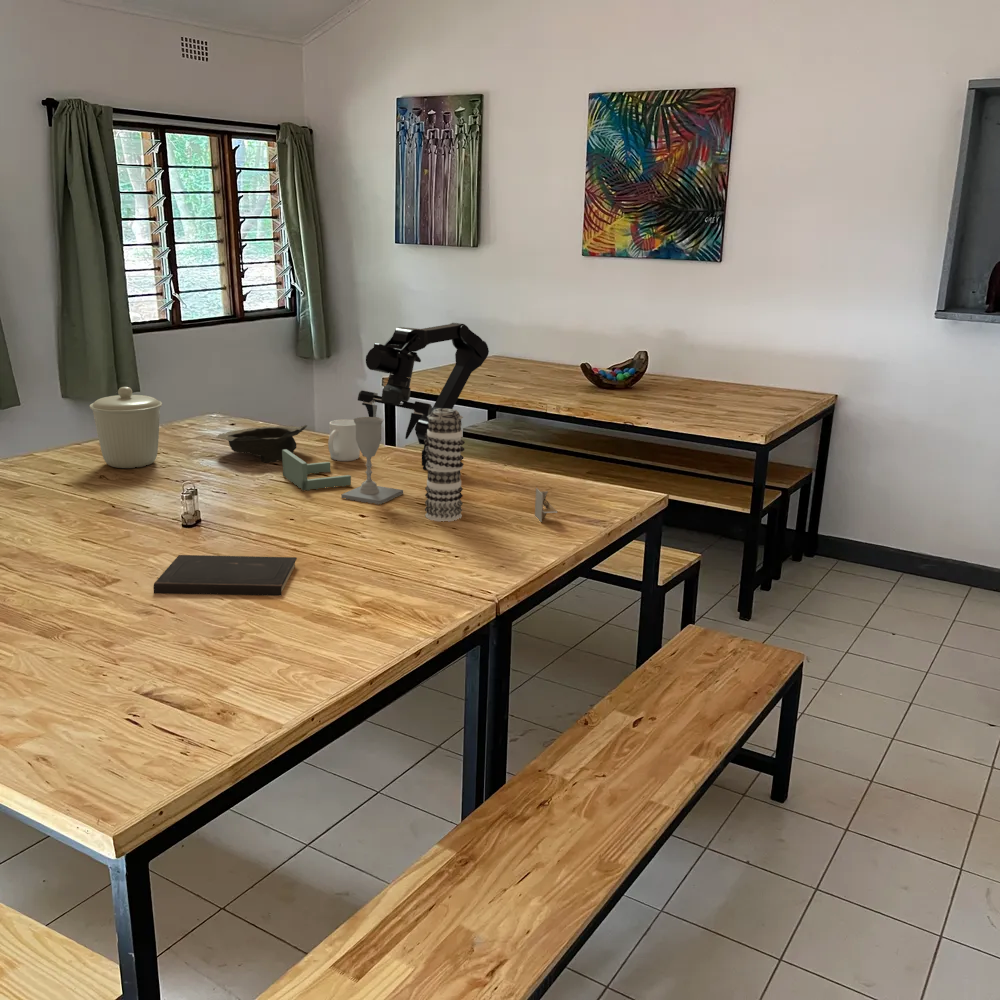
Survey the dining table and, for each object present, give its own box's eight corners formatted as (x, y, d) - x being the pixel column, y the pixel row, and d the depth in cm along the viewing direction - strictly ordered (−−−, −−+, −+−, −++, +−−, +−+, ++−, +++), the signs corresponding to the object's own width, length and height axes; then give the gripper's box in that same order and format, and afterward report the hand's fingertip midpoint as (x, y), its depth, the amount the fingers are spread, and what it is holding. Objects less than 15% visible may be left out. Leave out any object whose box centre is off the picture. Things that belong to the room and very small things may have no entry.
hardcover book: (179, 565, 192) (178, 554, 191) (296, 568, 193) (296, 557, 192) (153, 596, 177) (152, 584, 176) (281, 598, 177) (281, 586, 177)
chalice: (380, 486, 246) (380, 416, 241) (386, 493, 239) (386, 421, 234) (351, 488, 243) (350, 417, 238) (357, 495, 237) (356, 423, 232)
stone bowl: (298, 466, 266) (294, 433, 263) (207, 470, 266) (202, 437, 263) (316, 444, 289) (312, 414, 286) (232, 448, 290) (228, 418, 287)
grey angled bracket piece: (548, 517, 230) (550, 487, 228) (556, 526, 223) (558, 495, 221) (534, 518, 229) (535, 487, 227) (542, 527, 222) (543, 495, 220)
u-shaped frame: (328, 470, 263) (328, 445, 261) (351, 485, 250) (350, 458, 248) (283, 475, 257) (282, 449, 255) (303, 490, 243) (302, 463, 241)
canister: (140, 452, 276) (134, 378, 270) (180, 463, 266) (175, 386, 260) (81, 464, 262) (73, 386, 256) (121, 476, 252) (114, 395, 246)
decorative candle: (415, 515, 226) (415, 409, 219) (444, 508, 233) (445, 404, 226) (442, 524, 220) (444, 415, 213) (471, 516, 227) (473, 410, 220)
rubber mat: (365, 487, 248) (365, 484, 248) (403, 493, 244) (403, 489, 243) (341, 498, 238) (341, 494, 238) (380, 504, 234) (380, 500, 234)
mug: (341, 465, 269) (341, 429, 266) (316, 462, 272) (315, 425, 269) (365, 456, 279) (365, 421, 276) (341, 453, 282) (340, 418, 279)
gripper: (358, 367, 246) (347, 428, 247) (430, 382, 244) (418, 443, 246) (367, 369, 257) (357, 428, 258) (437, 383, 256) (425, 442, 257)
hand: (389, 435), depth 254 cm, fingers open, 9 cm apart
